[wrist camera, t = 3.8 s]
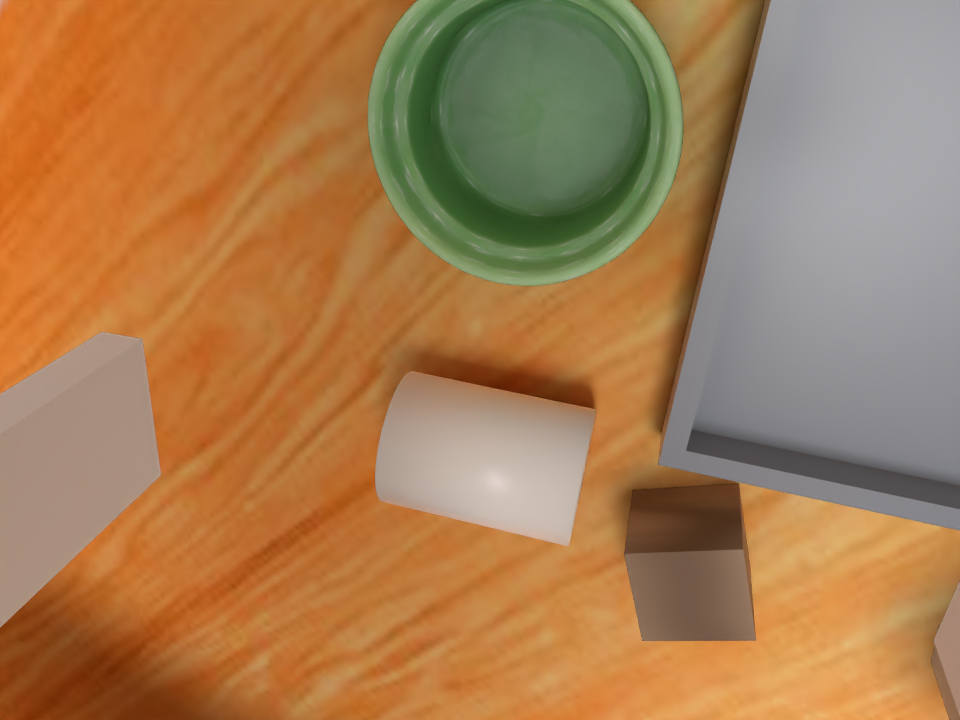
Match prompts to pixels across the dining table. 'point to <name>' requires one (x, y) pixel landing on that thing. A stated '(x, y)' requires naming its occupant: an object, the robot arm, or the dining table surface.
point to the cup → (944, 686)
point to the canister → (484, 456)
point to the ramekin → (525, 132)
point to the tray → (834, 268)
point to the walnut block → (690, 564)
